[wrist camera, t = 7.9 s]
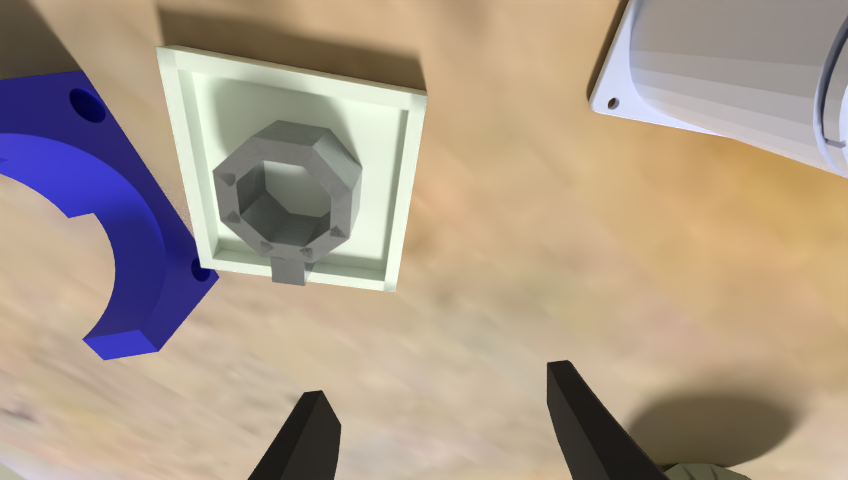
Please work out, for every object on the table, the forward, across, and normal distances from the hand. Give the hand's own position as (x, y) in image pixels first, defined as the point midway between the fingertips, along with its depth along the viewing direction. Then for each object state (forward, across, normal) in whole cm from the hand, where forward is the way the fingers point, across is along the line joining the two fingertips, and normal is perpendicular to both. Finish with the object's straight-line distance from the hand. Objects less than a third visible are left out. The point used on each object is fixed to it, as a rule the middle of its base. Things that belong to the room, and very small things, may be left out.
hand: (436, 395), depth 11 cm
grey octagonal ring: (+10, +6, -4) cm, 12 cm away
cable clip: (+11, +16, -5) cm, 20 cm away
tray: (+10, +6, -4) cm, 13 cm away
